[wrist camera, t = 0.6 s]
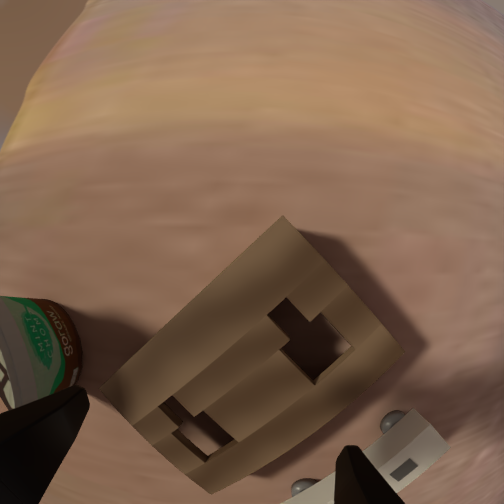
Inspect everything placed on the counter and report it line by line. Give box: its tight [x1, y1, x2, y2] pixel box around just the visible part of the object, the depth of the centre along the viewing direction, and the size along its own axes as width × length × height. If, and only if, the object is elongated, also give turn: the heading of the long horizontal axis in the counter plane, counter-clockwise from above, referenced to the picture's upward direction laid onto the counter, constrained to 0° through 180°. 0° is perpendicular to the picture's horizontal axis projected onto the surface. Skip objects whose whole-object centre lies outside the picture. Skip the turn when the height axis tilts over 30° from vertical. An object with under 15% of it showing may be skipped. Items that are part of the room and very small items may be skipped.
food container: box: [0, 296, 82, 410], centre depth 17 cm, size 12×6×10 cm, turn 42°
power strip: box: [280, 408, 451, 504], centre depth 16 cm, size 4×14×7 cm, turn 133°
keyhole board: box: [99, 216, 405, 494], centre depth 19 cm, size 12×18×4 cm, turn 133°
